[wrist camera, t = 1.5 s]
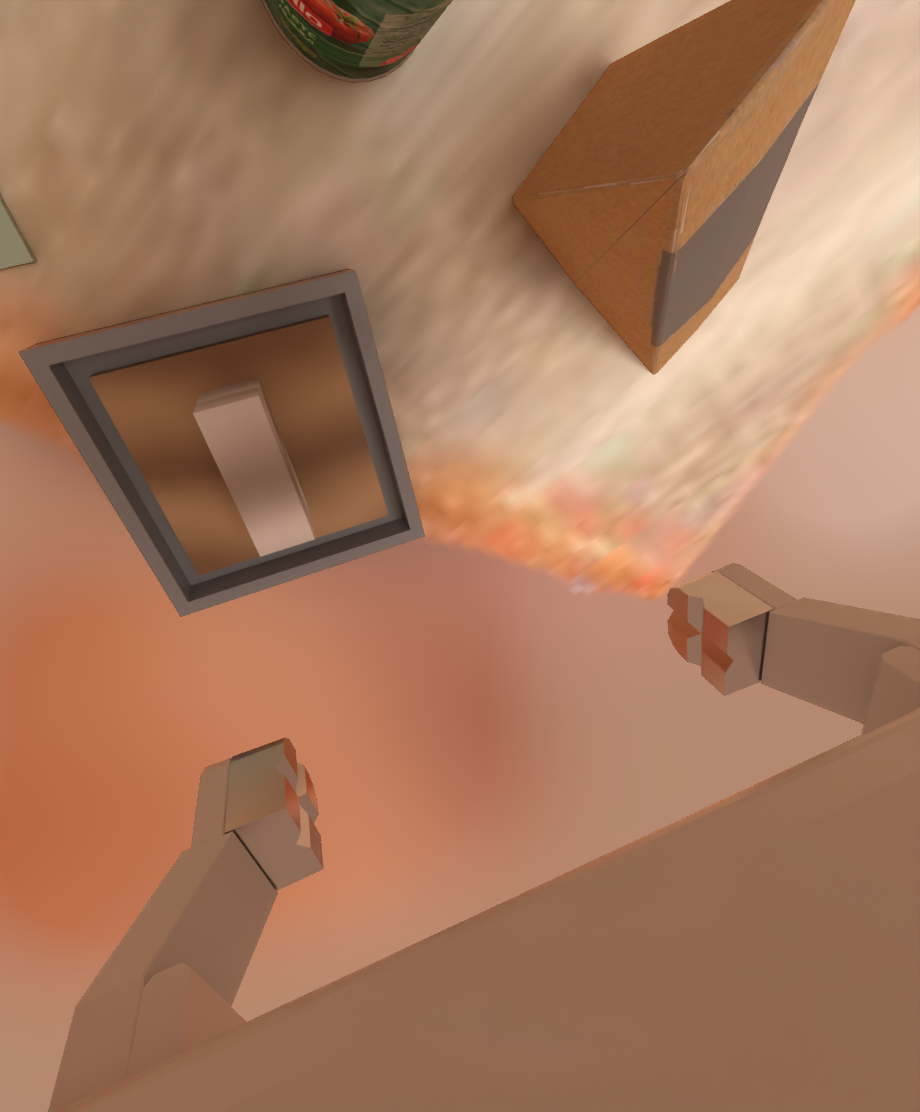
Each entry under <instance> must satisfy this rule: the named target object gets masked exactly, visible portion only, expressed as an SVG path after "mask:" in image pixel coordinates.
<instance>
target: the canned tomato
mask: <svg viewBox="0 0 920 1112" xmlns="http://www.w3.org/2000/svg"><path fill="white" fill-rule="evenodd" d="M262 2H263V4H264V6H265V8H266V10H267V12H268V14H269V16H270V18H271V19H272V21H273V23H274V25H275V26H276V28H277V29H278V30H279V32H280V33H281V35H282V36H283V37H284V39H285V40H286V42H287V43H288V44H289V45H290V46H291V47H292V48H293V49H294V50H295V51H296V52H297V53H298V54H299V55H300V56H301V57H302V58H303V59H304V60H305V61H307V62H308V63H309V64H311V65H312V66H313V67H315V68H316V69H318V70H319V71H321V72H323V73H325V74H327V75H330V76H332V77H334V78H336V79H341V80H346V81H350V82H365V81H372V80H375V79H378V78H381V77H384V76H386V75H388V74H389V73H391V72H393V71H394V70H396V69H397V68H399V67H400V66H401V65H402V64H403V63H404V62H405V61H406V60H407V58H408V57H409V56H410V55H411V54H412V53H413V51H414V49H415V48H416V46H417V45H418V44H419V43H420V41H421V40H422V38H423V37H424V36H425V35H426V33H427V32H428V31H429V30H430V28H431V27H432V26H433V25H434V23H435V22H436V20H437V19H438V18H439V17H440V16H441V14H442V13H443V12H444V11H445V9H446V8H447V6H448V5H449V4H450V3H451V2H452V0H262Z"/></svg>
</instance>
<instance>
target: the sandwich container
mask: <svg viewBox="0 0 920 1112" xmlns="http://www.w3.org/2000/svg"><path fill="white" fill-rule="evenodd" d="M854 2H855V0H731V1H729V2H727V3H725V4H723V5H722V6H720V7H718V8H716V9H714V10H712V11H710V12H708V13H706V14H704V15H702V16H700V17H698V18H697V19H695V20H693V21H691V22H689V23H687V24H685V25H683V26H681V27H679V28H677V29H675V30H673V31H672V32H670V33H668V34H666V35H664V36H662V37H660V38H658V39H656V40H654V41H653V42H651V43H649V44H647V45H645V46H643V47H641V48H639V49H638V50H636V51H634V52H632V53H630V54H628V55H626V56H624V57H623V58H621V59H619V60H617V61H615V62H613V63H612V64H611V65H610V66H609V68H608V69H607V70H606V72H605V73H604V74H603V76H602V77H601V79H600V80H599V81H598V83H597V84H596V85H595V87H594V88H593V89H592V91H591V92H590V93H589V95H588V96H587V97H586V99H585V100H584V101H583V103H582V104H581V105H580V107H579V108H578V109H577V111H576V112H575V113H574V115H573V116H572V117H571V119H570V120H569V121H568V123H567V124H566V125H565V127H564V128H563V129H562V131H561V132H560V134H559V135H558V136H557V138H556V139H555V140H554V142H553V143H552V144H551V146H550V147H549V148H548V150H547V151H546V152H545V154H544V155H543V157H542V158H541V159H540V161H539V162H538V163H537V165H536V166H535V167H534V169H533V170H532V171H531V173H530V174H529V175H528V177H527V178H526V180H525V181H524V182H523V184H522V185H521V186H520V188H519V189H518V190H517V192H516V193H515V194H514V196H513V197H512V199H513V203H514V205H515V206H516V207H517V209H518V210H519V211H520V213H521V214H522V215H523V217H524V218H525V219H526V221H527V222H528V223H529V224H530V226H531V227H532V228H533V230H534V231H535V232H536V234H537V235H538V236H539V238H540V239H541V240H542V242H543V243H544V244H545V245H546V247H547V248H548V249H549V251H550V252H551V253H552V255H553V256H554V257H555V259H556V260H557V261H558V263H559V264H560V265H561V266H562V268H563V269H564V270H565V272H566V273H567V274H568V276H569V277H570V278H571V280H572V281H573V282H574V284H575V285H576V286H577V287H578V288H579V289H580V290H581V291H582V293H583V294H584V295H585V296H586V297H587V298H588V300H589V301H590V302H591V303H592V304H593V305H594V307H595V308H596V309H597V310H598V311H599V312H600V314H601V315H602V316H603V317H604V318H605V319H606V321H607V322H608V323H609V324H610V325H611V326H612V327H613V329H614V330H615V331H616V332H617V333H618V334H619V336H620V337H621V338H622V339H623V340H624V341H625V343H626V344H627V345H628V346H629V347H630V348H631V350H632V351H633V352H634V353H635V354H636V355H637V357H638V358H639V359H640V360H641V361H642V362H643V364H644V365H645V366H646V367H647V368H648V369H649V370H650V372H651V373H652V374H653V375H654V374H656V373H657V372H658V371H659V370H660V369H661V368H662V367H663V366H664V365H665V364H666V363H667V362H668V360H669V359H670V358H671V357H672V356H673V355H674V354H675V353H676V352H677V351H678V350H679V348H680V347H681V346H682V345H683V344H684V343H685V342H686V341H687V340H688V339H689V338H690V337H691V335H692V334H693V333H694V332H695V331H696V330H697V329H698V328H699V326H700V325H701V324H702V323H703V322H704V320H705V319H706V318H707V317H708V316H709V314H710V313H711V312H712V311H713V309H714V308H715V307H716V306H717V305H718V303H719V302H720V301H721V300H722V299H723V297H724V296H725V295H726V294H727V292H728V291H729V290H730V289H731V288H732V286H733V285H734V284H735V283H736V282H737V280H738V279H739V276H740V274H741V271H742V268H743V266H744V263H745V261H746V258H747V255H748V253H749V250H750V248H751V245H752V243H753V240H754V237H755V235H756V232H757V230H758V227H759V225H760V222H761V220H762V218H763V215H764V213H765V210H766V208H767V205H768V203H769V200H770V198H771V195H772V193H773V191H774V188H775V186H776V184H777V181H778V179H779V177H780V174H781V172H782V170H783V167H784V165H785V163H786V160H787V158H788V155H789V153H790V150H791V148H792V145H793V143H794V140H795V138H796V135H797V133H798V130H799V128H800V125H801V123H802V121H803V118H804V116H805V114H806V112H807V109H808V107H809V105H810V102H811V100H812V98H813V96H814V93H815V91H816V89H817V86H818V84H819V82H820V80H821V78H822V75H823V73H824V71H825V68H826V66H827V64H828V61H829V59H830V57H831V55H832V52H833V50H834V48H835V46H836V43H837V41H838V39H839V36H840V34H841V32H842V30H843V27H844V25H845V23H846V21H847V18H848V16H849V14H850V12H851V9H852V7H853V5H854Z"/></svg>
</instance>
